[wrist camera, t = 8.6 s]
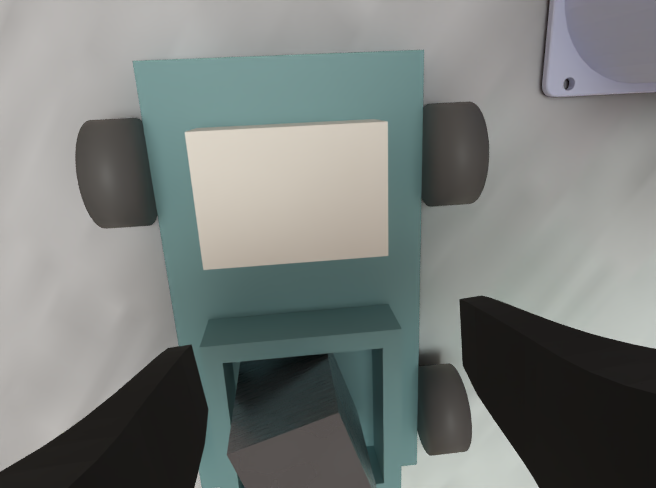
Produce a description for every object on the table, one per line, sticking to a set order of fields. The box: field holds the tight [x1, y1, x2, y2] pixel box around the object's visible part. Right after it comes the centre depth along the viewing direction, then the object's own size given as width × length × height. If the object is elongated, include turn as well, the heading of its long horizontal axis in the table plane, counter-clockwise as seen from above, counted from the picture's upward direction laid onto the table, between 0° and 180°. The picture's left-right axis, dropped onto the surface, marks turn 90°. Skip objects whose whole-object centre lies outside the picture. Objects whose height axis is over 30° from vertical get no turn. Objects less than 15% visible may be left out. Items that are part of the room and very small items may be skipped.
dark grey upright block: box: [227, 353, 377, 488], centre depth 19 cm, size 4×5×6 cm
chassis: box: [76, 50, 489, 488], centre depth 20 cm, size 14×20×4 cm
